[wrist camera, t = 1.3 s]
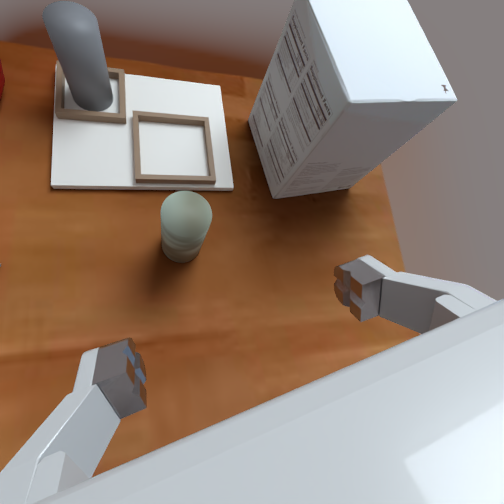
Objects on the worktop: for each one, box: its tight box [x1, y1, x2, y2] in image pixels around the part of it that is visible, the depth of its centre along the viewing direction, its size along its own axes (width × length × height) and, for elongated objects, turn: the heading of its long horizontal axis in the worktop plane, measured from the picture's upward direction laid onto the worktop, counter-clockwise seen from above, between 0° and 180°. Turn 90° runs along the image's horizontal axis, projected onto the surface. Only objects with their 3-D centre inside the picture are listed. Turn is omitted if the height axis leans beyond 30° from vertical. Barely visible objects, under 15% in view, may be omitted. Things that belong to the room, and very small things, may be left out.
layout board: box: [43, 1, 234, 191], centre depth 31 cm, size 20×16×10 cm
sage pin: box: [161, 191, 212, 263], centre depth 29 cm, size 4×4×9 cm
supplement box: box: [248, 0, 457, 199], centre depth 34 cm, size 13×13×18 cm
